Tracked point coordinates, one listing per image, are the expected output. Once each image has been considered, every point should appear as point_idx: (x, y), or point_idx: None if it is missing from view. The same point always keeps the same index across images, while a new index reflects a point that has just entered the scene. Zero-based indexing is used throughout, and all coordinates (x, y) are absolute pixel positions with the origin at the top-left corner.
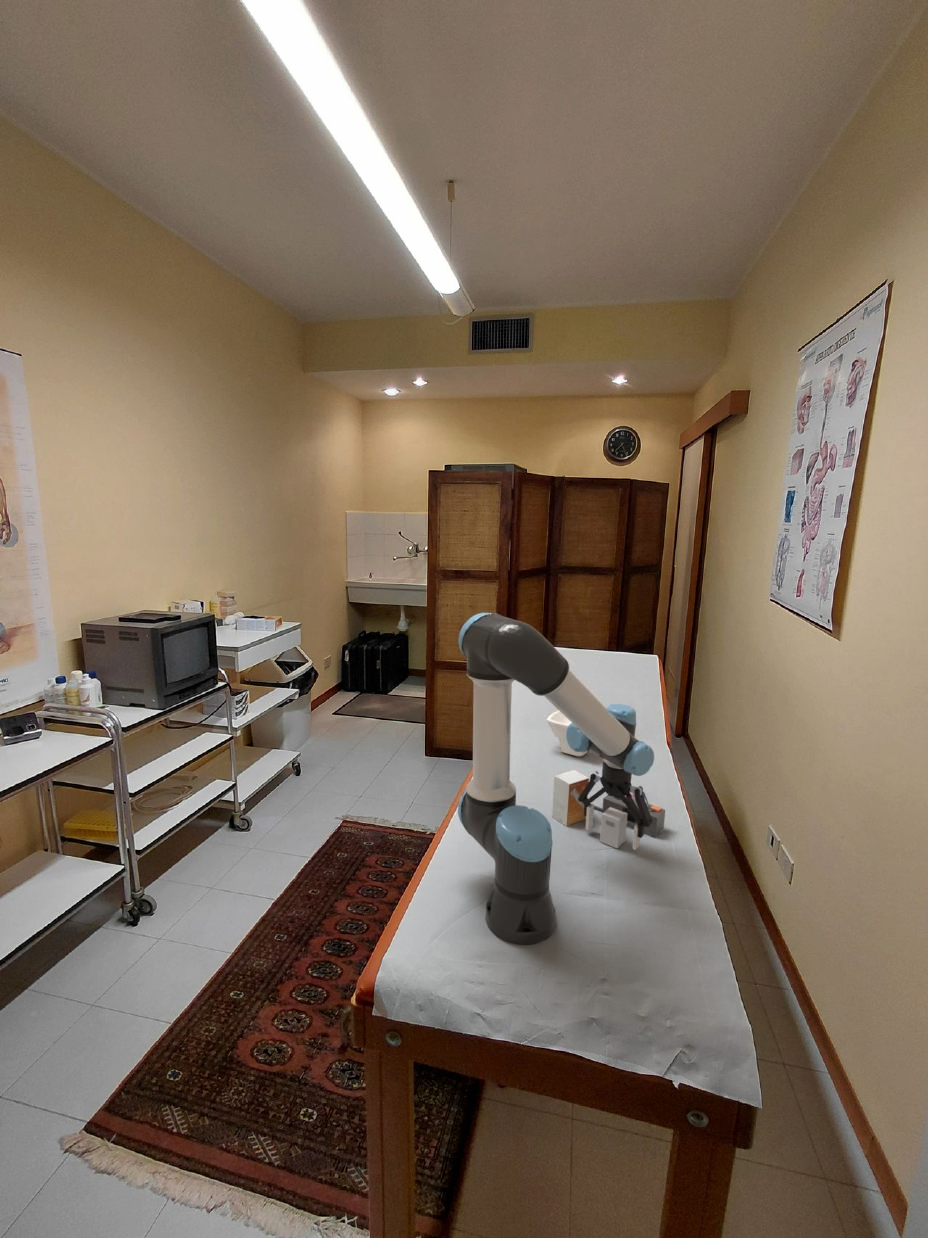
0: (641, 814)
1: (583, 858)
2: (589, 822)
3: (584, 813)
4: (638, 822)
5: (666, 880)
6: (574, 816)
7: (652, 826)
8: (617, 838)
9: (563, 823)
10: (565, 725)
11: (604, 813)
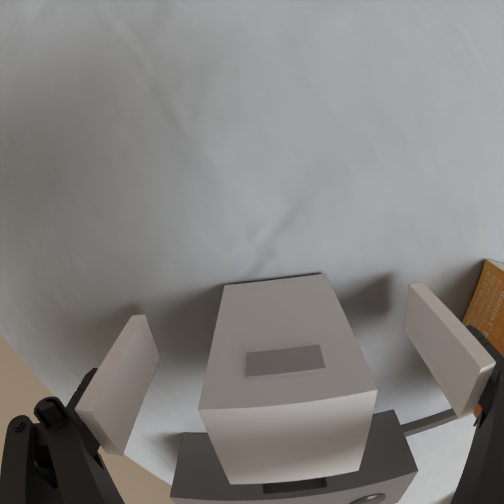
0: (20, 483)
1: (301, 75)
2: (425, 316)
3: (476, 333)
4: (61, 435)
5: (4, 246)
6: (487, 318)
7: (191, 464)
8: (221, 315)
9: (499, 262)
10: None
11: (362, 408)
